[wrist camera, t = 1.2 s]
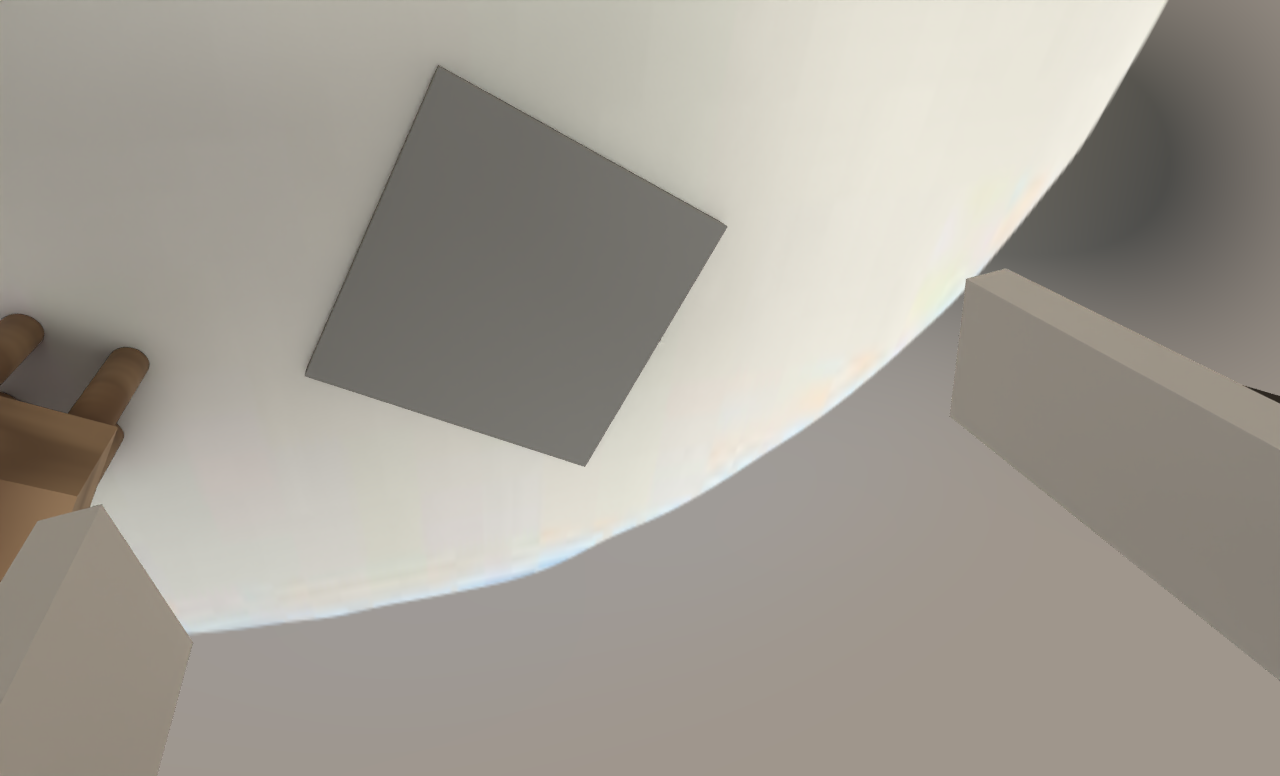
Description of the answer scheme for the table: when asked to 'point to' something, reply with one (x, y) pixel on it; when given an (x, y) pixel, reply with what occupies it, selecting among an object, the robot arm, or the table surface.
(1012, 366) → the robot arm
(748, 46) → the table surface
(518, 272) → the mat
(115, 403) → the stool
